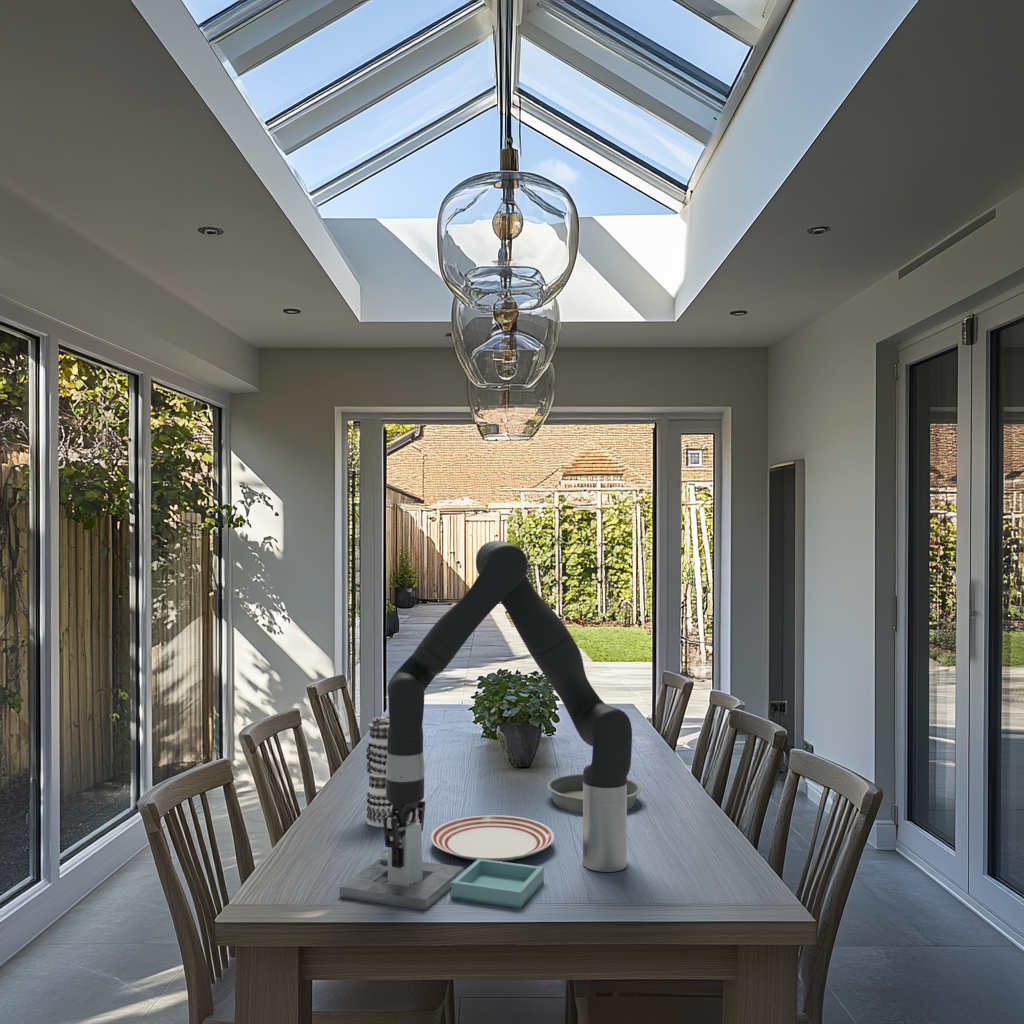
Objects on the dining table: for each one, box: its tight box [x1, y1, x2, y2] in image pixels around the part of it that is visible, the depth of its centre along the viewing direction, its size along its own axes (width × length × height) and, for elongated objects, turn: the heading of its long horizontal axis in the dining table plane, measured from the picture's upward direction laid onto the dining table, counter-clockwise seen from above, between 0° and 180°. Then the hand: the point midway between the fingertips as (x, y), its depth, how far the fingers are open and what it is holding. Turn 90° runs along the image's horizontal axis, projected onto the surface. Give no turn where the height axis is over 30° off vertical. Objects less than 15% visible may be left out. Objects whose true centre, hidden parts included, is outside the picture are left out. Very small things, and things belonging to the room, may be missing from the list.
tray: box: [450, 859, 545, 910], centre depth 177 cm, size 14×14×3 cm
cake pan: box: [546, 773, 642, 813], centre depth 239 cm, size 25×25×4 cm
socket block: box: [339, 849, 465, 911], centre depth 179 cm, size 18×18×4 cm
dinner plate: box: [430, 814, 555, 862], centre depth 202 cm, size 28×27×3 cm
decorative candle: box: [366, 715, 393, 828], centre depth 221 cm, size 9×9×25 cm
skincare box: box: [386, 822, 423, 888], centre depth 179 cm, size 6×4×12 cm
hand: (404, 861), depth 179 cm, fingers closed on skincare box, 5 cm apart
